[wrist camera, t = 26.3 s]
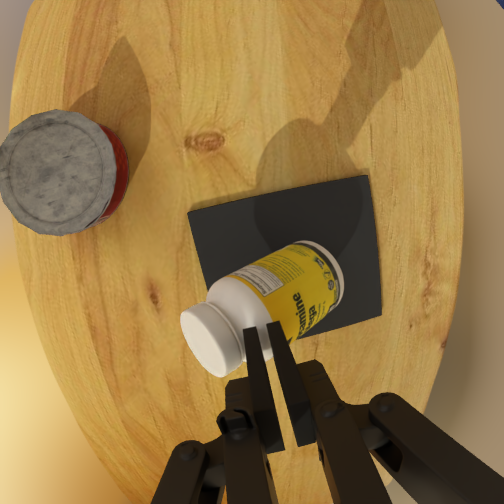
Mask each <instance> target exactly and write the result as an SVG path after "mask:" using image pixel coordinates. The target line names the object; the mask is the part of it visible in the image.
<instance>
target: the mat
mask: <svg viewBox="0 0 504 504" xmlns="http://www.w3.org/2000/svg"><path fill="white" fill-rule="evenodd" d="M187 215H188V219H189V223H190V227H191V231H192V235H193V239H194V242H195V246H196V250H197V254H198V257H199V261H200V265H201V268H202V272H203V275H204V279H205V282H206V286H207V289H208V291H209V289H210V288H211V286H212V285H213V284H214V283H215V282H216V281H218V280H219V279H221V278H223V277H225V276H227V275H229V274H231V273H233V272H235V271H237V270H239V269H241V268H243V267H245V266H247V265H249V264H252V263H254V262H256V261H258V260H259V259H262V258H264V257H266V256H268V255H270V254H272V253H274V252H275V251H278V250H280V249H282V248H284V247H286V246H288V245H290V244H293V243H295V242H298V241H311V242H314V243H317V244H319V245H320V246H322V247H323V248H325V249H326V250H327V251H328V252H329V253H330V254H331V255H332V256H333V257H334V258H335V260H336V261H337V263H338V265H339V266H340V269H341V271H342V274H343V278H344V291H343V296H342V298H341V300H340V302H339V304H338V305H337V306H336V307H335V308H334V309H333V310H332V311H331V312H330V313H329V314H327V315H326V316H325V317H323V318H322V319H321V320H320V321H319V322H317V323H316V324H315V325H314V326H312V327H311V328H310V329H309V330H308V331H306V332H305V333H304V334H303V335H301V336H300V337H299V338H298V339H301V338H305V337H308V336H312V335H316V334H320V333H324V332H327V331H331V330H334V329H338V328H341V327H345V326H348V325H352V324H355V323H358V322H362V321H365V320H368V319H371V318H374V317H377V316H381V315H382V308H381V286H380V270H379V258H378V247H377V237H376V228H375V220H374V212H373V205H372V198H371V191H370V185H369V179H368V175H363V176H357V177H351V178H345V179H339V180H334V181H328V182H323V183H318V184H312V185H307V186H302V187H297V188H292V189H287V190H282V191H277V192H273V193H268V194H263V195H259V196H254V197H250V198H245V199H241V200H236V201H232V202H228V203H223V204H219V205H215V206H211V207H207V208H203V209H198V210H194V211H190V212H188V213H187ZM296 340H297V339H296Z"/></svg>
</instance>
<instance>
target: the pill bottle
mask: <svg viewBox="0 0 504 504" xmlns="http://www.w3.org/2000/svg"><path fill="white" fill-rule="evenodd" d="M343 291H344V278H343V274H342V271H341V269H340V266H339V265H338V263H337V261H336V260H335V258H334V257H333V256H332V255H331V254H330V253H329V252H328V251H327V250H326V249H325V248H323V247H322V246H320V245H319V244H317V243H314V242H311V241H298V242H295V243H293V244H290V245H288V246H286V247H284V248H282V249H280V250H278V251H275V252H274V253H272V254H270V255H268V256H266V257H264V258H262V259H259V260H258V261H256V262H254V263H252V264H249V265H247V266H245V267H243V268H241V269H239V270H237V271H235V272H233V273H231V274H229V275H227V276H225V277H223V278H221V279H219V280H218V281H216V282H215V283H214V284H213V285H212V286H211V288H210V289H209V291H208V294H207V298H206V302H200V303H198V304H196V305H194V306H192V307H190V308H188V309H186V310H184V311H183V312H182V314H181V318H180V321H181V327H182V331H183V334H184V336H185V339H186V341H187V343H188V345H189V347H190V349H191V351H192V352H193V354H194V355H195V357H196V358H197V359H198V361H199V362H200V363H201V364H202V366H203V367H204V368H205V369H206V370H207V371H209V372H210V373H211V374H213V375H215V376H217V377H224V376H226V375H227V374H229V373H231V372H232V371H234V370H236V369H237V368H238V367H239V366H240V365H241V364H242V362H243V361H244V362H246V354H245V346H244V337H243V329H245V328H250V327H254V326H256V327H257V331H258V335H259V339H260V343H261V347H262V352H263V356H264V360H265V362H266V361H267V360H269V359H271V358H272V357H273V353H272V348H271V344H270V340H269V335H268V331H267V327H266V324H267V323H271V322H275V321H279V320H280V323H281V326H282V328H283V331H284V334H285V336H286V339H287V341H288V344H289V345H290V344H291V343H292V342H294V341H295V340H296V339H298V338H299V337H300V336H301V335H303V334H304V333H305V332H306V331H308V330H309V329H310V328H311V327H312V326H314V325H315V324H316V323H317V322H319V321H320V320H321V319H322V318H323V317H325V316H326V315H327V314H329V313H330V312H331V311H332V310H333V309H334V308H335V307H336V306H337V305H338V304H339V302H340V300H341V298H342V296H343Z"/></svg>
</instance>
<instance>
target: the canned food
mask: <svg viewBox="0 0 504 504" xmlns="http://www.w3.org/2000/svg"><path fill="white" fill-rule="evenodd" d="M128 175H129V166H128V158H127V155H126V151H125V148H124V146H123V144H122V143H121V141H120V139H119V138H118V137H117V136H116V134H115V133H114V132H113V131H111V130H110V129H109V128H107V127H105V126H103V125H100V124H97V123H95V122H93V121H91V120H90V119H88V118H87V117H85V116H83V115H82V114H80V113H78V112H70V111H63V110H57V109H55V110H51V111H47V112H43V113H39V114H35V115H31V116H30V117H28V118H27V119H26V120H24V121H23V122H21V123H20V124H18V125H17V126H16V127H14V128H13V129H12V130H11V131H10V133H9V134H8V136H7V138H6V139H5V141H4V142H3V144H2V145H1V146H0V192H1V196H2V199H3V202H4V204H5V205H6V206H7V207H8V209H9V210H10V211H11V213H12V214H13V215H14V217H15V218H16V219H17V221H18V222H19V223H21V224H23V225H25V226H26V227H28V228H30V229H32V230H33V231H35V232H37V233H38V234H46V235H55V236H63V235H66V234H73V233H78V232H81V231H83V230H85V229H87V228H90V227H93V226H96V225H98V224H100V223H102V222H104V221H105V220H106V219H108V218H109V217H110V216H111V215H112V214H113V213H114V212H115V210H116V209H117V208H118V206H119V204H120V203H121V201H122V199H123V196H124V194H125V191H126V188H127V183H128Z"/></svg>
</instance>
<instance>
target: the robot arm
mask: <svg viewBox="0 0 504 504" xmlns="http://www.w3.org/2000/svg"><path fill="white" fill-rule="evenodd" d="M266 327H267V331H268V335H269V340H270V344H271V348H272V353H273V357H274V361H275V365H276V369H277V373H278V376H279V380H280V384H281V387H282V391H283V395H284V398H285V402H286V405H287V409H288V413H289V416H290V420H291V424H292V427H293V431H294V434H295V438H296V442H297V445H298V447H300V446H304V445H308V444H312V443H315V442H317V445H318V452H319V460H320V461H321V462H322V465H323V469H324V472H325V475H326V479H327V482H328V486H329V489H330V492H331V496H332V499H333V503H334V504H392V502H391V500H390V497H389V495H388V493H387V490H386V488H385V486H384V484H383V482H382V479H381V477H380V475H379V473H378V470H377V468H376V466H375V464H374V462H373V459H372V457H371V455H370V453H371V454H372V455H373V456H374V457H375V458H376V460H377V461H378V462H379V463H380V464H381V465H382V466H383V467H384V468H385V469H386V470H387V471H388V473H389V474H390V475H391V476H392V477H393V478H394V479H395V480H396V481H397V482H398V483H399V484H400V485H401V486H402V487H403V488H404V489H405V491H406V492H407V493H408V494H409V495H410V496H411V497H412V498H413V499H414V500H415V501H416V502H417V503H418V504H504V478H503V477H502V476H500V475H499V474H498V473H497V472H495V471H494V470H493V469H491V468H490V467H489V466H487V465H486V464H485V463H483V462H482V461H481V460H480V459H478V458H477V457H476V456H474V455H473V454H472V453H470V452H469V451H468V450H466V449H465V448H464V447H463V446H462V445H460V444H459V443H458V442H456V441H455V440H454V439H453V438H451V437H450V436H449V435H448V434H446V433H445V432H443V431H442V430H441V429H440V428H438V427H437V426H436V425H435V424H434V423H432V422H431V421H430V420H429V419H427V418H426V417H425V416H424V415H422V414H421V413H420V412H419V411H417V410H416V409H415V408H414V407H412V406H411V405H410V404H409V403H407V402H406V401H405V400H404V399H402V398H401V397H400V396H398V395H397V394H395V393H389V392H386V393H381V394H378V395H376V396H374V397H373V398H372V399H371V401H370V402H369V404H362V405H351V404H347V403H345V402H344V401H342V400H341V399H340V398H339V396H338V394H337V392H336V390H335V388H334V386H333V384H332V382H331V380H330V378H329V377H328V375H327V373H326V371H325V369H324V367H323V365H322V364H321V363H320V362H318V361H317V360H315V359H314V360H311V361H307V362H304V363H300V364H296V362H295V360H294V357H293V354H292V352H291V349H290V347H289V344H288V341H287V339H286V336H285V334H284V331H283V328H282V326H281V323H280V320H279V321H275V322H271V323H267V324H266ZM243 337H244V346H245V354H246V362H247V370H248V377H244V378H239V379H234V380H229V382H228V384H227V386H226V387H225V396H226V397H225V402H226V403H225V404H226V409H225V410H224V411H222V412H221V413H220V414H219V415H218V417H217V420H216V422H217V424H218V426H219V429H220V431H221V433H222V435H221V436H219V437H218V438H217V439H215V440H213V441H210V442H208V443H205V444H202V443H200V442H199V441H195V440H188V441H184V442H182V443H180V444H178V445H177V446H176V447H175V448H174V450H173V451H172V454H171V456H170V459H169V461H168V463H167V466H166V468H165V471H164V473H163V475H162V478H161V480H160V483H159V485H158V487H157V490H156V492H155V494H154V497H153V499H152V502H151V504H221V502H222V498H223V493H224V489H225V485H226V492H227V504H279V503H278V499H277V495H276V490H275V486H274V481H273V477H272V472H271V468H270V463H269V461H268V458H267V454H270V453H275V452H279V451H284V450H285V447H284V442H283V438H282V434H281V429H280V425H279V421H278V416H277V412H276V408H275V403H274V399H273V394H272V390H271V386H270V381H269V377H268V372H267V368H266V364H265V360H264V356H263V352H262V347H261V343H260V339H259V335H258V331H257V327H256V326H254V327H250V328H245V329H243ZM369 452H370V453H369Z"/></svg>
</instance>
